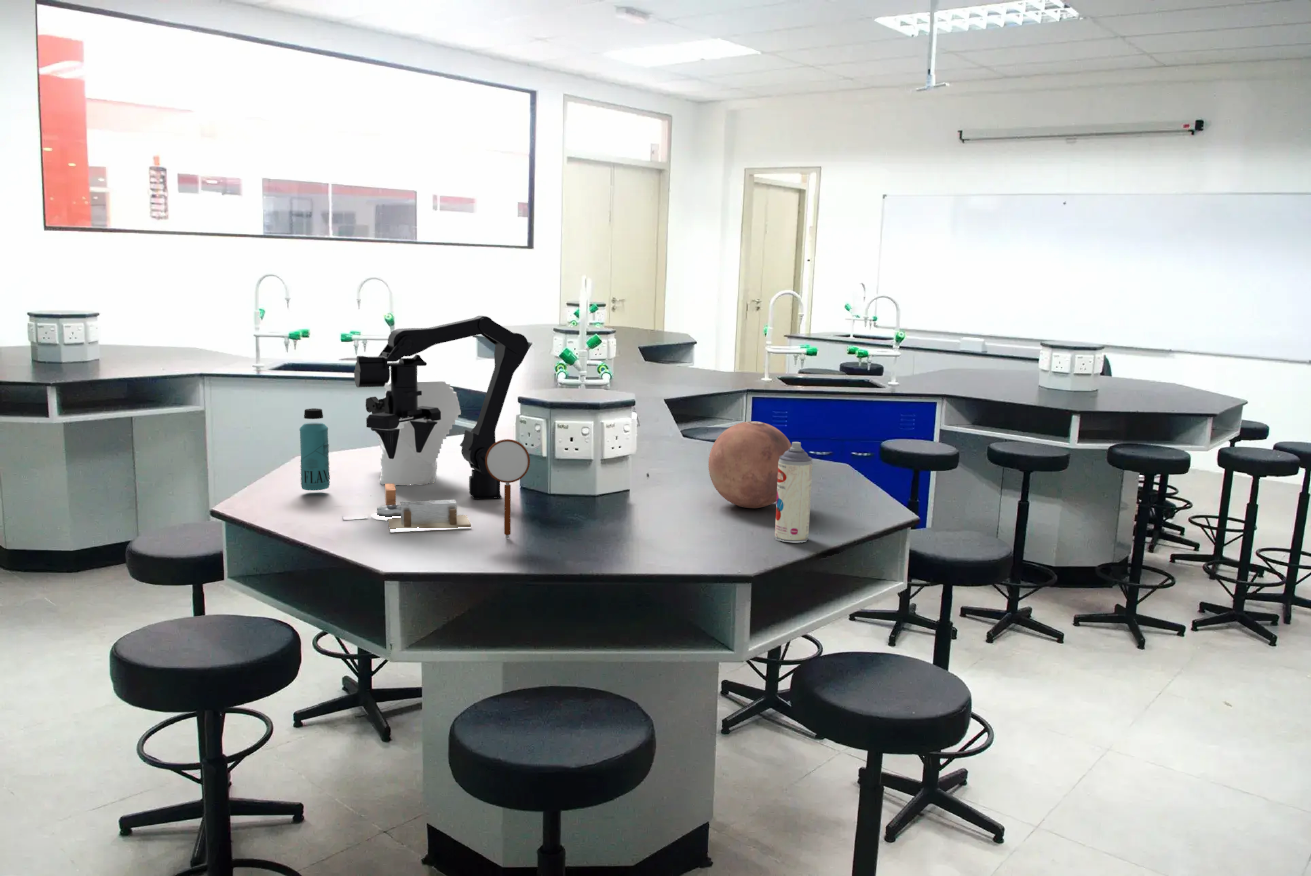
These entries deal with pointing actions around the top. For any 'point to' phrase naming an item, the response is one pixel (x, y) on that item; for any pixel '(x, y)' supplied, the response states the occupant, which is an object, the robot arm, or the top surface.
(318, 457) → the beverage bottle
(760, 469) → the planet model
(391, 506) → the wooden building block
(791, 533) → the aerosol can
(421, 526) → the rack
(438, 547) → the top surface
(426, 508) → the bar
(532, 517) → the top surface
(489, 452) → the magnifying glass
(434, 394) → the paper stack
